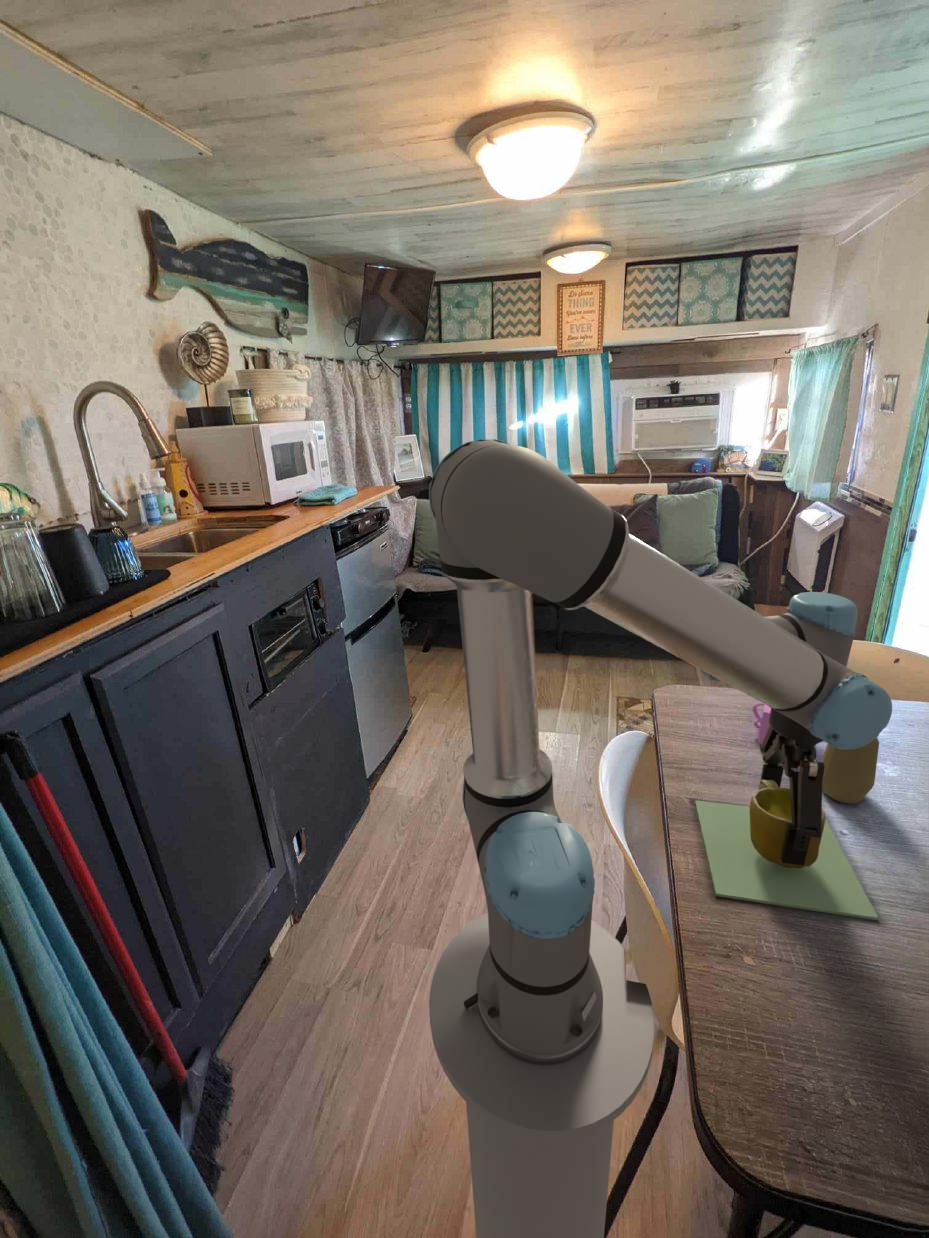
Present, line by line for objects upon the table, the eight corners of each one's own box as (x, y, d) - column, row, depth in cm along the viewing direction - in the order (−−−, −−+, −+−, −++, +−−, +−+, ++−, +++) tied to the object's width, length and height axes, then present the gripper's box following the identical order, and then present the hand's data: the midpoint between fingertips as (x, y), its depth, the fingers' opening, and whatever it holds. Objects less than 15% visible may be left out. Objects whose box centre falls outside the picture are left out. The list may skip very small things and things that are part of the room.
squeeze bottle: (811, 797, 95) (831, 707, 88) (817, 773, 101) (836, 687, 94) (868, 815, 90) (893, 722, 84) (870, 789, 96) (895, 699, 90)
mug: (845, 876, 74) (828, 807, 73) (762, 880, 77) (745, 815, 77) (821, 828, 85) (806, 769, 84) (749, 834, 89) (734, 777, 88)
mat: (715, 896, 77) (716, 893, 77) (694, 802, 95) (695, 800, 95) (877, 920, 72) (878, 917, 72) (823, 817, 90) (824, 814, 90)
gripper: (875, 761, 62) (838, 900, 70) (804, 666, 85) (782, 780, 92) (802, 754, 64) (774, 890, 72) (751, 664, 86) (734, 775, 94)
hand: (778, 829), depth 82 cm, fingers closed on mug, 12 cm apart
